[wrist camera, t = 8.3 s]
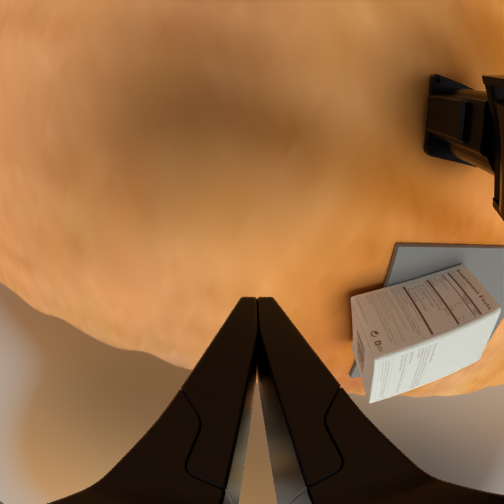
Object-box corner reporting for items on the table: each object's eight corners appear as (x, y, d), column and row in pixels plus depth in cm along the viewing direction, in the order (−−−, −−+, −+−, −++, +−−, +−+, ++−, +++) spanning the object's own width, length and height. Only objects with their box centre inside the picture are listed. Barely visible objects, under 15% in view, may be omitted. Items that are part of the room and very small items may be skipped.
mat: (532, 246, 22) (535, 249, 21) (481, 347, 31) (482, 349, 30) (395, 242, 21) (398, 246, 21) (349, 374, 31) (350, 377, 30)
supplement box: (350, 346, 27) (450, 315, 25) (367, 406, 20) (480, 362, 19) (348, 293, 23) (463, 261, 22) (374, 358, 17) (504, 308, 15)
